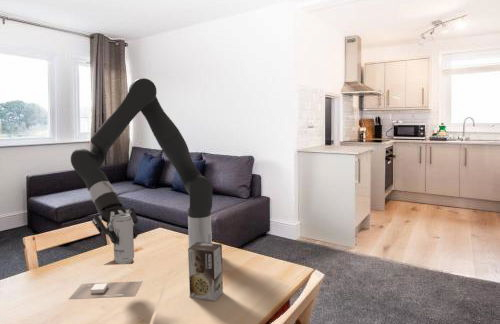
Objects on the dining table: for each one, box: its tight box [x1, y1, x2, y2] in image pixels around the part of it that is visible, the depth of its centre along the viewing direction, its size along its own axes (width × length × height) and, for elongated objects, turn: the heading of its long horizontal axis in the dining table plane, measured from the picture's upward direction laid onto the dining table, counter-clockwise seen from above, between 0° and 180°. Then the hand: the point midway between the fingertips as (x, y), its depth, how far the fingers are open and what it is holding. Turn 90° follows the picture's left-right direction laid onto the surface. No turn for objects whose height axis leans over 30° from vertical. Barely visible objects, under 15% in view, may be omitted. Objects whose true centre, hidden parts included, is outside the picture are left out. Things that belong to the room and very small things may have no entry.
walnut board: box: [68, 280, 143, 300], centre depth 111 cm, size 20×10×1 cm, turn 94°
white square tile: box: [91, 282, 109, 293], centre depth 111 cm, size 4×4×1 cm
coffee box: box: [187, 242, 224, 302], centre depth 109 cm, size 9×6×16 cm
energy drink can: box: [112, 213, 135, 265], centre depth 110 cm, size 6×6×15 cm
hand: (126, 240), depth 109 cm, fingers closed on energy drink can, 6 cm apart
